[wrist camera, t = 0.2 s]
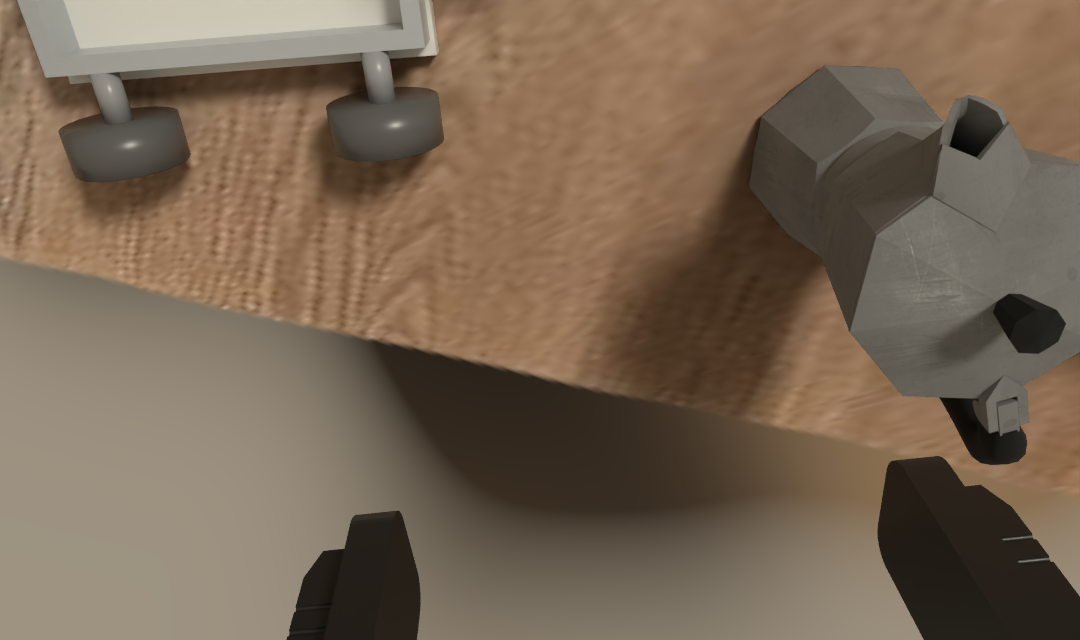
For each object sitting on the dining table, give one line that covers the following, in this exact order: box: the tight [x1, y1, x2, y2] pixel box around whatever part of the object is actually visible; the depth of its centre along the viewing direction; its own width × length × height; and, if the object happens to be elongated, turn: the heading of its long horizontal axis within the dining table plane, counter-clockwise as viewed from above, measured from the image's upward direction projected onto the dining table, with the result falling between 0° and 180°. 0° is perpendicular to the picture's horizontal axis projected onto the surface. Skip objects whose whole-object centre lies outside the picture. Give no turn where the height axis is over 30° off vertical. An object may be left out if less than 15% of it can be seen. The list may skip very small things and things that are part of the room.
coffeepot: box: [749, 66, 1080, 465], centre depth 32 cm, size 15×9×18 cm, turn 20°
